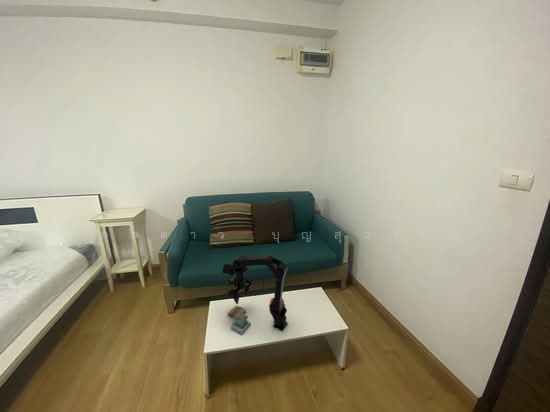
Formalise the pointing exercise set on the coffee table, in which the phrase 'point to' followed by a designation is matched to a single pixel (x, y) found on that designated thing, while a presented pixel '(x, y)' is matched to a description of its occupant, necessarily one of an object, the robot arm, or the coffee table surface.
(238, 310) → the stand
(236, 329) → the stand
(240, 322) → the housing
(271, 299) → the alarm clock
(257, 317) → the coffee table surface
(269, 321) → the coffee table surface
